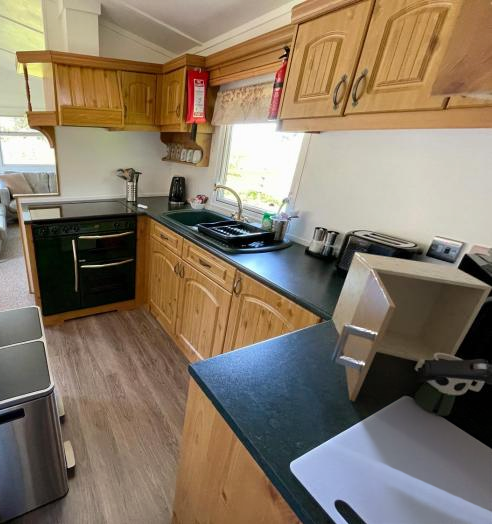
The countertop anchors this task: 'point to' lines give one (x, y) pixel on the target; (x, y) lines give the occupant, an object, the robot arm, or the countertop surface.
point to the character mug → (443, 389)
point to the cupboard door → (364, 333)
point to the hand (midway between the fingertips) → (458, 384)
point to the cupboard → (416, 304)
